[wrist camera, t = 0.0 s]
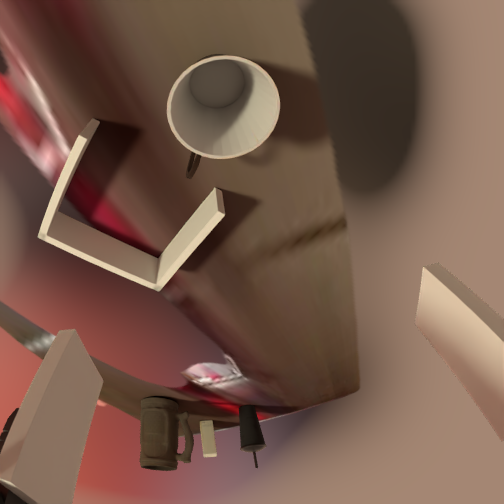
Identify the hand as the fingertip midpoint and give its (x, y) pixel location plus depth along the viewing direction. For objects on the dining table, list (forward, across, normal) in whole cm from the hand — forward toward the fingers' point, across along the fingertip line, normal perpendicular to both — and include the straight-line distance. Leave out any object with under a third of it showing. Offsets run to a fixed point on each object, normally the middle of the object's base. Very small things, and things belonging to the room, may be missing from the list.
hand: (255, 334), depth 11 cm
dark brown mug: (+26, -1, +10) cm, 28 cm away
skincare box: (+58, -21, -82) cm, 103 cm away
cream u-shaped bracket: (+30, -12, -1) cm, 32 cm away
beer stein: (+50, -28, -60) cm, 83 cm away
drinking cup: (+54, -6, -73) cm, 91 cm away
